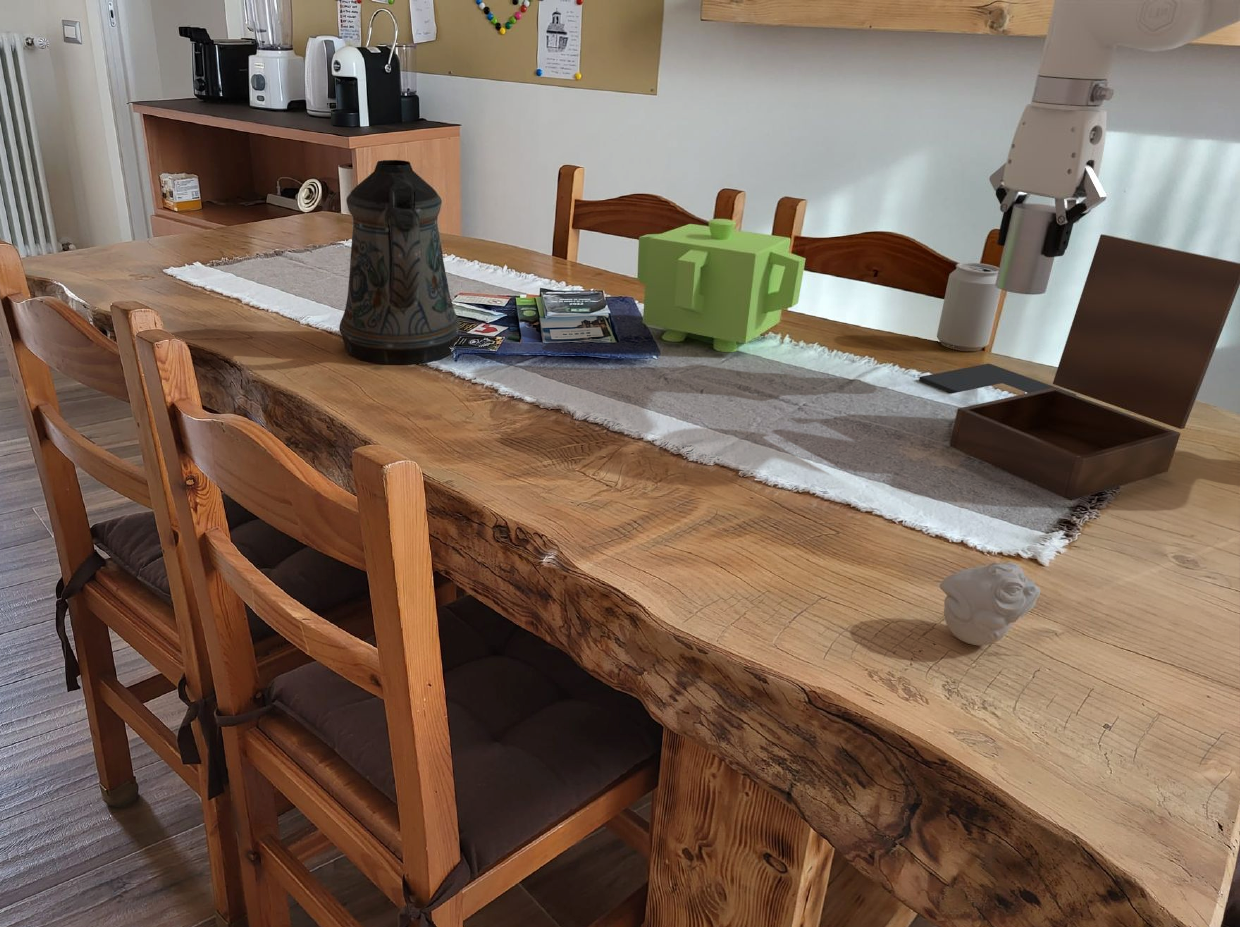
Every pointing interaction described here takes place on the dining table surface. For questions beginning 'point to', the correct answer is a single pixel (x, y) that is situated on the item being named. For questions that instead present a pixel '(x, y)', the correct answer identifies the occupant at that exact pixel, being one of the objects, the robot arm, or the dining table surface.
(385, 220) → the dark ornate jug
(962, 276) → the can
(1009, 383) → the mat
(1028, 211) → the steel canister
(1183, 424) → the lid
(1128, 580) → the dining table surface
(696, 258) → the green square teapot
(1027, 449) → the brown shallow square box
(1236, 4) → the robot arm
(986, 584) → the frog figurine
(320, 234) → the dining table surface
